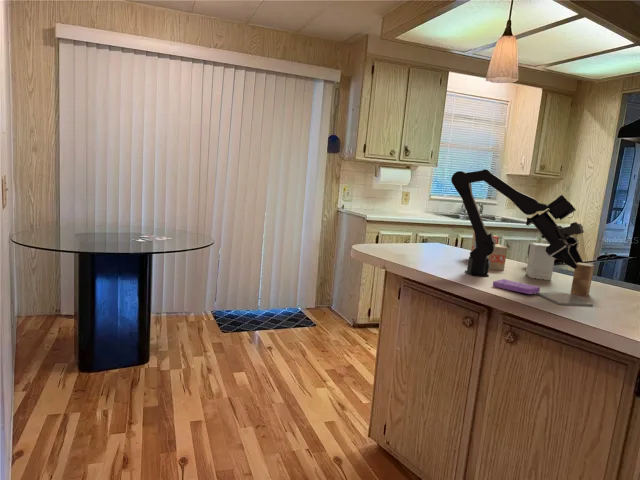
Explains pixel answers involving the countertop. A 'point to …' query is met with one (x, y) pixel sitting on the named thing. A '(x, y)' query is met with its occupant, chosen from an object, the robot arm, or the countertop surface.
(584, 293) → the walnut block
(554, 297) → the coaster
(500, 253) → the tan cardboard box
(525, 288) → the sponges
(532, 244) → the supplement box
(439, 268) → the countertop surface
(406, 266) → the countertop surface
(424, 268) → the countertop surface
